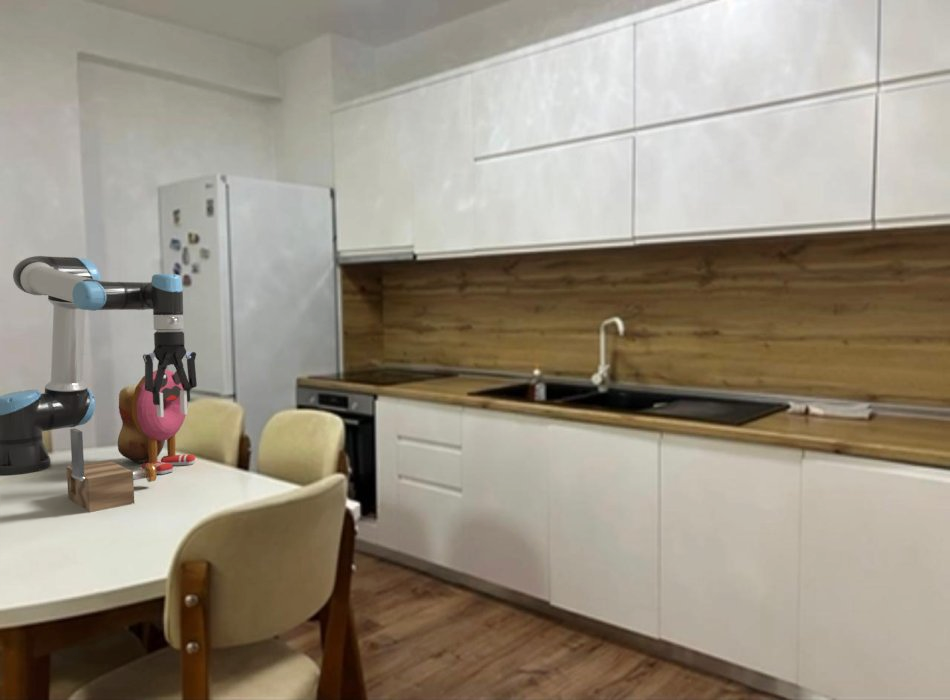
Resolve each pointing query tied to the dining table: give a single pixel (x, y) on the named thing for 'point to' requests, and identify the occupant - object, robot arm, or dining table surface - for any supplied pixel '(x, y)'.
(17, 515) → the dining table surface
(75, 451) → the silver flat rectangular plate
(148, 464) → the pin
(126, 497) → the block
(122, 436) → the butternut squash
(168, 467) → the toy
